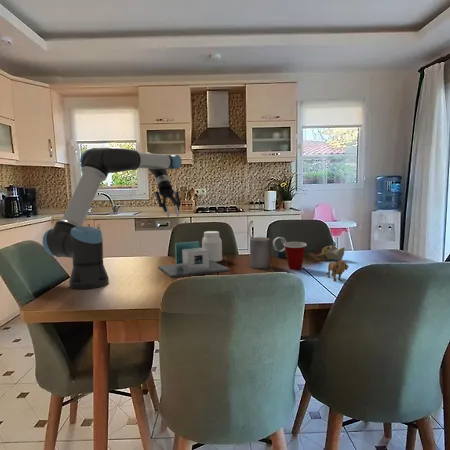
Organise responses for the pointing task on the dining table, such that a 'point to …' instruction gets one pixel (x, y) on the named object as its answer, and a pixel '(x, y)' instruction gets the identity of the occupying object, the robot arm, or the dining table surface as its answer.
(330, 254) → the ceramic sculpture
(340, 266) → the lion figurine
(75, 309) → the dining table surface
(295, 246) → the plastic cup
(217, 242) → the jar
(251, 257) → the pillar candle
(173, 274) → the block
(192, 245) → the teal piece
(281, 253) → the watch
